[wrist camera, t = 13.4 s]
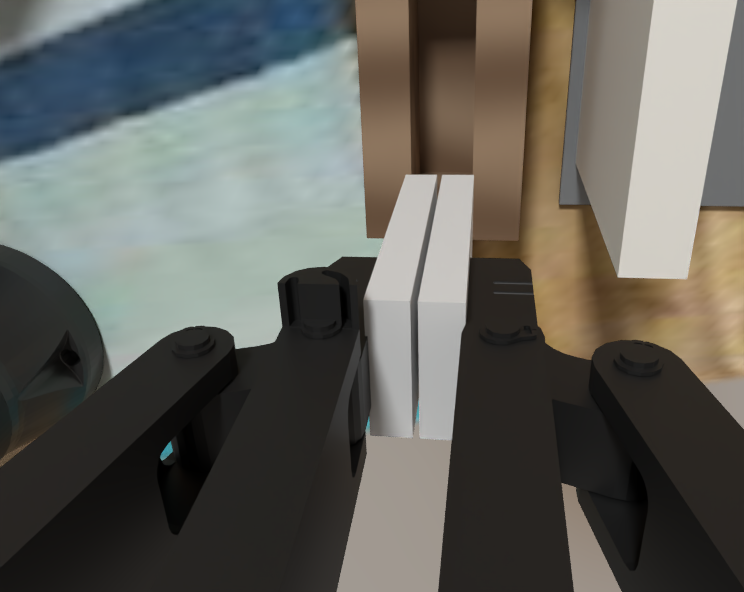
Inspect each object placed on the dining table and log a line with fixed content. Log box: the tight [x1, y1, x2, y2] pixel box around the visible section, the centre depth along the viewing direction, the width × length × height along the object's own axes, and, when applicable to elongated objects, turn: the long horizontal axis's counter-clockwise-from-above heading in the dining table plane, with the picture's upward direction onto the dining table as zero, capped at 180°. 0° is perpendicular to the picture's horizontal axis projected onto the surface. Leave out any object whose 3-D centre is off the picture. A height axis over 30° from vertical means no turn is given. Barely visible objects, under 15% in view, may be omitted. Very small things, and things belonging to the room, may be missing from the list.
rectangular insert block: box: [575, 0, 737, 279], centre depth 31 cm, size 11×2×15 cm, turn 2°
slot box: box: [355, 0, 532, 241], centre depth 36 cm, size 16×8×6 cm, turn 2°
